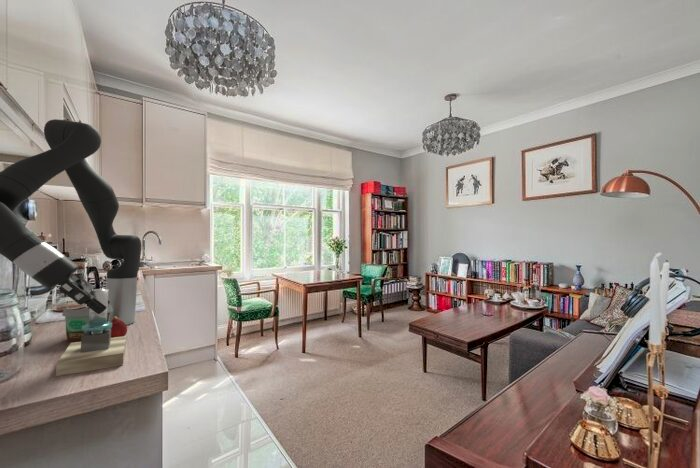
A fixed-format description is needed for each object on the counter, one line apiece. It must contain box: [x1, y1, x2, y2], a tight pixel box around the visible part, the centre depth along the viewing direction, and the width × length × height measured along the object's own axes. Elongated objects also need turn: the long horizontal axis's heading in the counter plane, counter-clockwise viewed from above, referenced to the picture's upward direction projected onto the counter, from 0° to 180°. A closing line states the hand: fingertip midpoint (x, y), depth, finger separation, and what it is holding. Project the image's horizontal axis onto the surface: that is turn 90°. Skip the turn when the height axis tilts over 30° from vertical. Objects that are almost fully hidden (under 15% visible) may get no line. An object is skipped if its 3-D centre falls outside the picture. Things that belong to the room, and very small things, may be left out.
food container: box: [61, 305, 113, 343], centre depth 91 cm, size 12×6×10 cm, turn 114°
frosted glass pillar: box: [82, 288, 112, 334], centre depth 77 cm, size 6×6×15 cm
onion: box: [111, 316, 128, 338], centre depth 89 cm, size 6×6×8 cm
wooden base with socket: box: [55, 328, 127, 377], centre depth 76 cm, size 16×12×7 cm
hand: (105, 307), depth 78 cm, fingers open, 8 cm apart
